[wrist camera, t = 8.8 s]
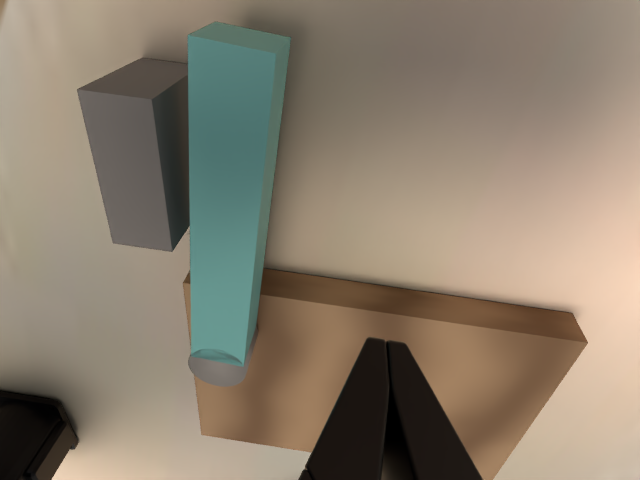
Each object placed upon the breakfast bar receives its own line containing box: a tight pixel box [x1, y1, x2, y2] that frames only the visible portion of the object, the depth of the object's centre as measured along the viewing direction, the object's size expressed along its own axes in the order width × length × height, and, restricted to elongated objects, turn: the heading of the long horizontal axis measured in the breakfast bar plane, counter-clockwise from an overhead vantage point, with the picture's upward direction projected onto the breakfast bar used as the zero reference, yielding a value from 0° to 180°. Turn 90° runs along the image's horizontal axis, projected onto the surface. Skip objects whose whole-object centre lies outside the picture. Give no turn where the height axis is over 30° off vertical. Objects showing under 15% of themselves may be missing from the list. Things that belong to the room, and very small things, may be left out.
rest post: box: [77, 58, 190, 252], centre depth 17 cm, size 2×6×4 cm, turn 174°
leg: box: [188, 22, 291, 387], centre depth 17 cm, size 16×3×2 cm, turn 170°
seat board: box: [183, 268, 588, 480], centre depth 26 cm, size 20×14×2 cm
